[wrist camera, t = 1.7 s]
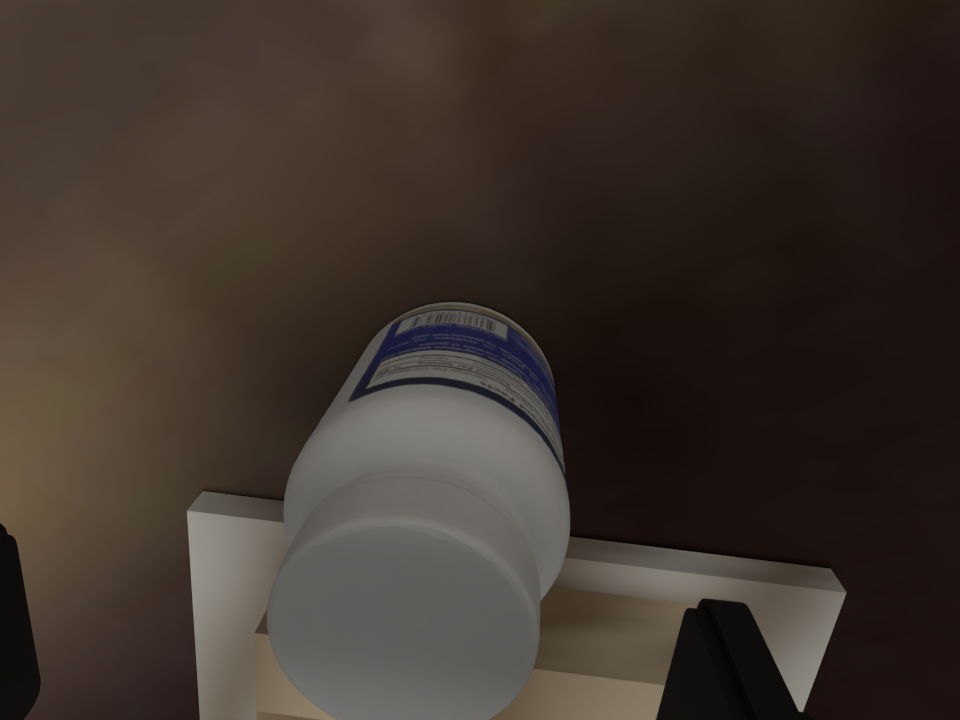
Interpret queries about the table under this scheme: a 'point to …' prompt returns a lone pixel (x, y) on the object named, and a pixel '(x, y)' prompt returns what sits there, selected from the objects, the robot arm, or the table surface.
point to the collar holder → (563, 620)
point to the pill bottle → (425, 524)
